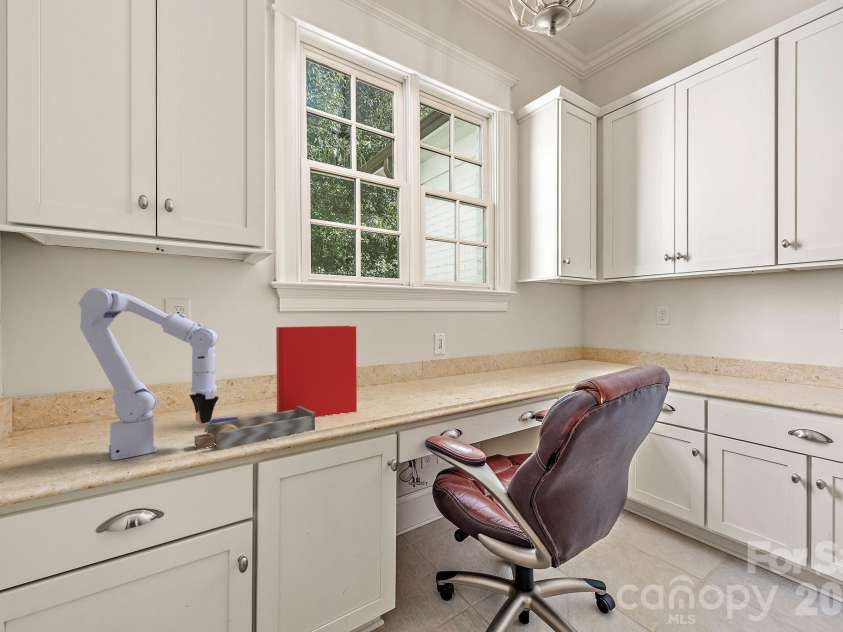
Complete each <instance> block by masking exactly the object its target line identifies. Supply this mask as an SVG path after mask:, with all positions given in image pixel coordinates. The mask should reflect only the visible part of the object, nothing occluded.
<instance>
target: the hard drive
mask: <svg viewBox="0 0 843 632" xmlns="http://www.w3.org/2000/svg"><path fill="white" fill-rule="evenodd" d="M237 419H239V417H238V416H232V417H231V416H230V417H221V418H220V417H219V418H211V421H210V422H209V424H213V423H219V422H225V421H231V420H237ZM206 431H207V428H206Z"/></svg>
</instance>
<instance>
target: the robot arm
mask: <svg viewBox="0 0 843 632" xmlns="http://www.w3.org/2000/svg"><path fill="white" fill-rule="evenodd" d="M78 305H79V307H80V323H79V326H80V331H81V333H82V334H83V336H84V337H85V339H86V342H87V343H88V345H89V346H90V348H91V350H92V352H93V354H94V355H95V356H94V357H96V359H97V361H98V362H99V365H100V366H101V368H102V370H103V372H104V373H105V375H106V377H107V379H108V381H109V383H110V385H111V386H112V388H113V394H112V400H113V402H114V407H115V408H114V410H115V411H114V412H115V414H116V416H117V418H119V420H118V421H113V422H110V424H109V445H108V452H109V454H110V458H111V461H117V460H122V459H123V460H124V459H127V458H131V457H137V456H138V457H139V456H141V455H143V456H144V455H147V454H153V452H154V453H157V452H158V449H157V447H156V446H155V444H154V443H155V442H154V441H155V440H154V414H153V413H154V412H153V410H154V408H155V407H156V405H157V403H158V402H157V397H156V395H155V393H153V392H152V391H150V390H149V389H148V388H147V386H146V385H145V383H143V382H141V381H140V380H139V379H138V378H137V376H136V374H135V373H134V371H133V369H132V367H131V365H130V364H129V361H128V360H127V358H126V356H125V354H124V352H123V351H122V349H121V347H120V346H119V343H118V342H117V339H116V338H115V336H114V334H113V332H112V331H111V329H110V326H111V325H112V323H113V322H114V319H116V317H118V316H119V315H120V314H121V313H122V312H130V313H133V314H136V315H138V316H140V317H142V318H144V319H147V320H148V321H149V320H150V321H151V322H154V323H156V324H159V325H160V326H161V327H162V330H163V332H164V333H166V334H168V335H169V336H172V337H174V338H177V339H179V340H181V341H183V342H185V343H189V345H190V347H191V348H192V349H191V351H192V352H191V353H192V354H191V388H190V391H191V392H192V393H193V394H189V398H190V399H191V401H192V405H193V407H194V411H195V415H196V414H197V412H198V411H199V415H200V420H201V423H205V424H208V423H210V422H211V420H212V418H213V412H214V409H215V405H216V404H217V402H218V401H219V396H217V395H216V396H215V394H216V390H220V389H221V386H220V385H217V384H216V382H217V381H216V376H217V375H216V374H217V373H216V368H217V367H216V366H217V365H216V360H217V359H216V356H217V355H216V344H217V342H218V340H219V339H218V337H219V336H218V334H217V332H216V331H215V330H213V328H211V327H207V326H206V327H203V326H204V324H203V323H201V322H199V323H197V322H195V321H193V320H191V319H189V318H187V315H186V314H184V313H181V314H178V313H173V314H168V313H166V312H164V311H162V310H161V309H159V308H157V307H155V306H153V305H152V304H149V303H147V302H145V301H144V300H142V299H139V298H138V297H136V296H133V295H131V294H129V293H124V292H122V291H121V290H118V289H106V288H101V287H93V288H90V289H88V290H86V291H85V293H84V294H83V295H82V297H81V298H80V300H79V302H78ZM211 417H212V418H211ZM201 423H200V424H201Z"/></svg>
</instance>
